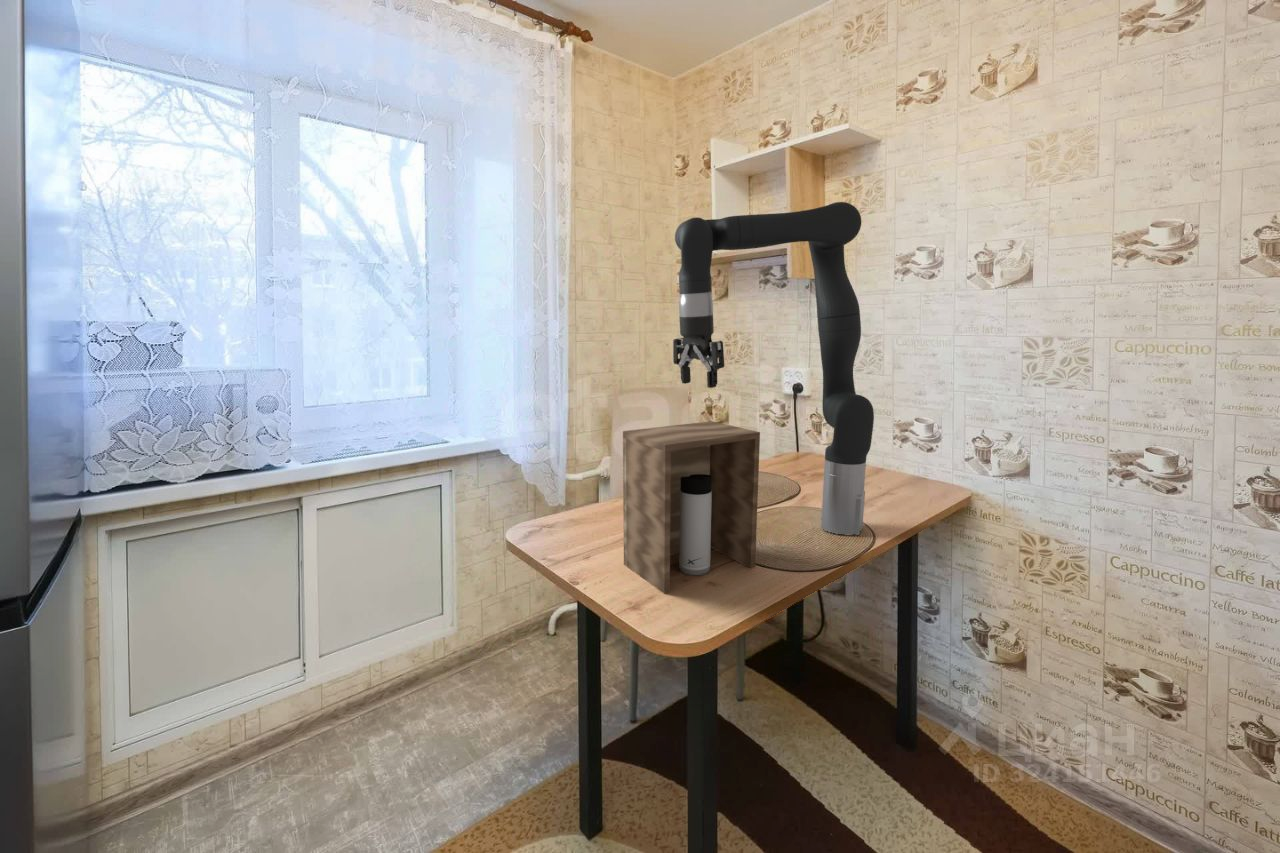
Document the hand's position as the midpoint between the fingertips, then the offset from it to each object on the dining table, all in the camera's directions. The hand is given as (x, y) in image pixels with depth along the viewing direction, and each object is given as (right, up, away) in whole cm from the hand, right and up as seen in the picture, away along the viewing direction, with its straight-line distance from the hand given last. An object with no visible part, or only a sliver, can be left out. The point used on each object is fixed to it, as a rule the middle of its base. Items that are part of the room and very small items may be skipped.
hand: (698, 385), depth 130 cm
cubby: (-3, -38, -14) cm, 41 cm away
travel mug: (-2, -39, -15) cm, 42 cm away
